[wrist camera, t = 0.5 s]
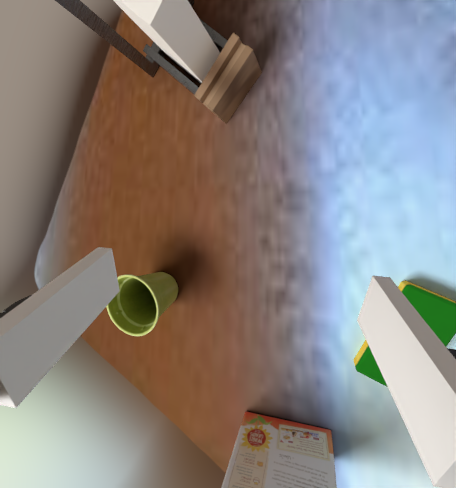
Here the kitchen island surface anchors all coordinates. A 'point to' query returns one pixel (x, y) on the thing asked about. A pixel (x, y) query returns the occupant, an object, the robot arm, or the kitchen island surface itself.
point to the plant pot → (141, 301)
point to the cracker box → (280, 455)
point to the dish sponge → (434, 314)
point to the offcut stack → (229, 79)
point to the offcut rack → (154, 53)
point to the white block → (175, 32)
